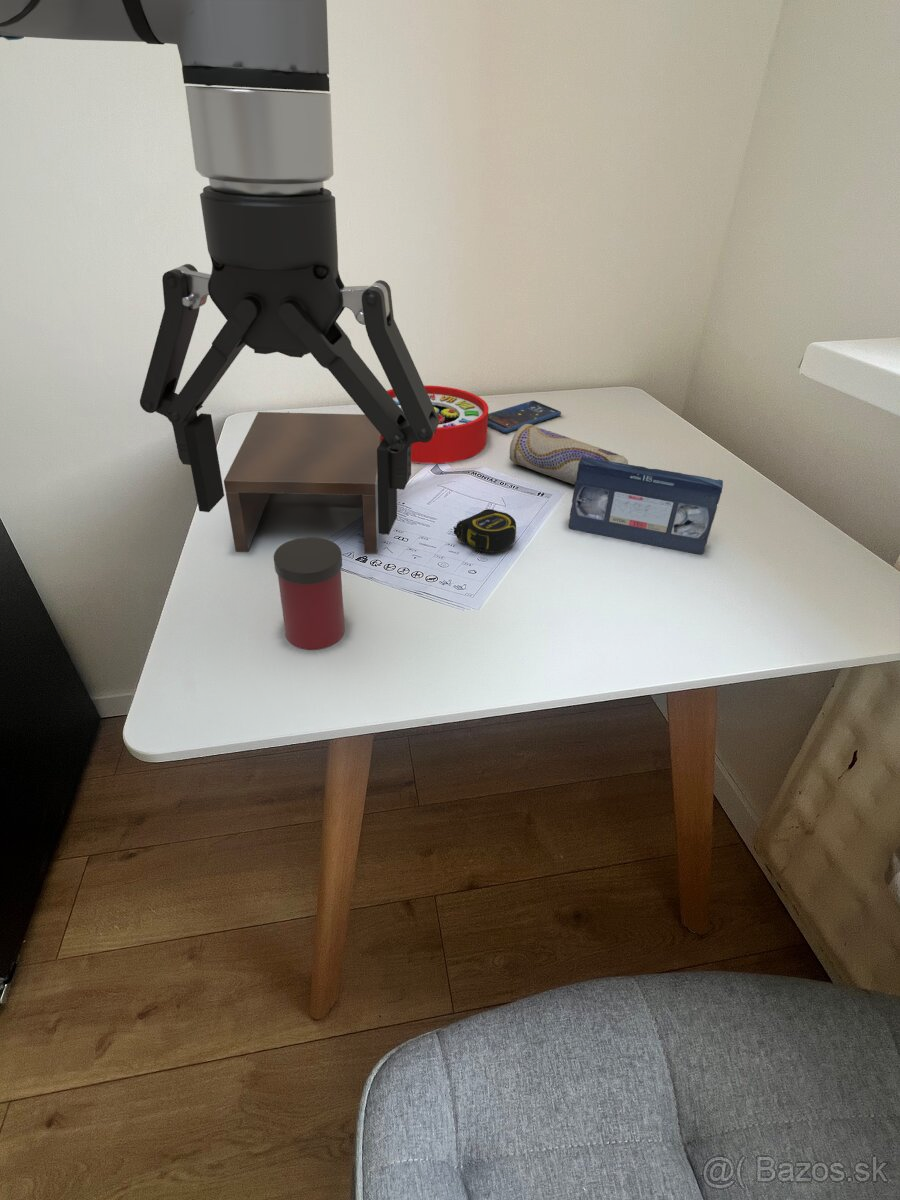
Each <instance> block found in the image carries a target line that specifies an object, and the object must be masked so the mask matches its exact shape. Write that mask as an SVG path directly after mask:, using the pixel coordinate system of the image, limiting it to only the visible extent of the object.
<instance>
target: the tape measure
mask: <svg viewBox="0 0 900 1200" xmlns="http://www.w3.org/2000/svg"><path fill="white" fill-rule="evenodd" d="M453 534H454V535H455V536H456V538H457V540H458V541H459V542H462V543H464V544H466V543H467V544H468V545H469V546H470V547H472V548H473V549H475V550H477V551H481V552H484V553H497V552H502V551H505V550H507V549H509V548H510V547H511V546H512V545H513V544H514V543H515V542H516V537H517V536H516V535H517V522H516V520H515V518H514V517H513V516H512V515H510V514H508V513H507V512H504V511H499V510H496V509H491V508H486V509H484V510H482V511H480V512H478V513H476V514H474V515H472V516H470V517H467V518H465V519H462V520H459V522H457V523H456V525H455V526H453Z"/></svg>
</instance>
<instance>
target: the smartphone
mask: <svg viewBox="0 0 900 1200" xmlns="http://www.w3.org/2000/svg"><path fill="white" fill-rule="evenodd" d="M561 415H562V412H561V410H559V409H555V408H553V407H552V406H551V407H550V406H548V405H546V404H543V403H541V402H539V401H536V400H529V401H526V402H523V403H520V404H516V405H513V406H509V407H506V408H503V409H499V410H496V411H493V412H488V424H487V426H488V427H491V428H493V429H495V430H497V431H499V432H502V433H510V432H513V431H517V430H518V429H519V428H520V427H521V426H523V425H524V424H532V425H535V424H538V423H540V422H544V421H547V420H549V419H553V418H556V417H559V416H561Z"/></svg>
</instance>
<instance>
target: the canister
mask: <svg viewBox="0 0 900 1200" xmlns="http://www.w3.org/2000/svg"><path fill="white" fill-rule="evenodd" d="M341 549H342V548H340V546H339V545H338V544H337V543H335V542H334V541H332V540H330V539H327V538H323V537H316V536H307V537H299V538H294V539H291V540H289V541H286V542H284V543H282V544H281V545H280V546H278V548H276V550H275V551H274V553H273V565H274V571H275V573H276V574H277V581H278V587H279V588H278V589H279V595H280V603H281V610H282V618H283V628H284V633H285V634H284V635H285V638H286V640H287V642H288V643H290V645H293V647H296V648H298V649H302V650H306V651H307V650H308V651H310V650H311V651H313V650H314V651H315V650H322V649H326V648H329V647H331V646H333V645H335V644H337V643H338V642H339V641H340V640H341V639H342V638H343V637H344V634H345V627H346V626H345V614H344V613H345V612H344V598H343V597H344V596H343V584H342V568H343V553H342V550H341Z"/></svg>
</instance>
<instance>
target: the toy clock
mask: <svg viewBox="0 0 900 1200" xmlns="http://www.w3.org/2000/svg"><path fill="white" fill-rule="evenodd" d="M424 387H425V389H426V391H427V394H428V396H429V398H430V400H431V402H432V405H433V407H434V409H435V411H436V414H437V416H438V418H439V424H438V426H437V428H436V431H435V433H434V435H433V437H432V439H431V440H430V441H429V442H426V443H423V442H416V443H413V444H411V463H415V464H423V465H424V464H427V465H439V464H441V465H442V464H450V463H456V462H461V461H465V460H468V459H470V458H473V457H475V456H477V455H478V454H480V453H481V452H482V451H483V450H484V449H485V447H486V445H487V437H488V425H487V424H488V414H489V405H488V403H487V402H486V401H485V400H484V399H483V398H482V397H480V396H478V395H476V394H474V393H473V392H470V391H467V390H463V389H459V388H454V387H449V386H441V385H425V384H424ZM386 391H387V392H388V393H389V395H390V396H391V397H392V399H393V400H394V401H395V402H396V404H397V405H398V406H399V407H400V409H401V410H402V408H401V406H400V404H399V401H398V399H397V397H396V395H395V393H394V391H393V389H392V388H391V389H388V390H387V389H386ZM402 411H403V410H402ZM403 413H404V412H403ZM383 438H384V437H383Z"/></svg>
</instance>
